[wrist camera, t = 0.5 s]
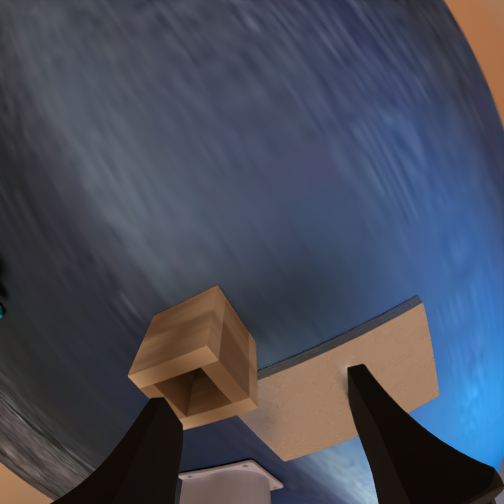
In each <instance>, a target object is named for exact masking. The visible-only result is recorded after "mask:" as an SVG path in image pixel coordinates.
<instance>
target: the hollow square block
mask: <svg viewBox="0 0 504 504" xmlns="http://www.w3.org/2000/svg"><path fill="white" fill-rule="evenodd" d="M128 377H129V378H130V379H131V380H132V381H133V382H134V383H135V384H136V385H137V387H138V388H139V389H140V390H141V391H142V392H143V393H144V394H145V395H146V396H147V397H148V398H149V399H151V398H155V397H165V399H166V400H167V402H168V403H169V405H170V406H171V408H172V409H173V411H174V412H175V414H176V415H177V417H178V418H179V420H180V421H181V423H182V424H183V430H185V429H189V428H193V427H197V426H201V425H205V424H208V423H212V422H215V421H219V420H222V419H226V418H229V417H232V416H236V415H239V414H242V413H245V412H248V411H251V410H254V409H257V408H258V385H257V359H256V341H255V340H254V339H253V337H252V336H251V334H250V333H249V331H248V330H247V328H246V327H245V325H244V324H243V322H242V321H241V319H240V318H239V316H238V315H237V313H236V312H235V310H234V309H233V307H232V306H231V304H230V303H229V301H228V300H227V298H226V297H225V295H224V294H223V292H222V291H221V289H220V288H219V286H218V285H216V286H214V287H212V288H210V289H208V290H206V291H204V292H202V293H200V294H198V295H196V296H194V297H191V298H189V299H187V300H185V301H183V302H181V303H179V304H177V305H175V306H173V307H171V308H169V309H167V310H164V311H162V312H160V313H158V314H156V315H154V317H153V319H152V321H151V323H150V326H149V328H148V330H147V332H146V335H145V337H144V339H143V341H142V344H141V346H140V348H139V350H138V353H137V355H136V357H135V360H134V362H133V364H132V367H131V369H130V372H129V374H128Z"/></svg>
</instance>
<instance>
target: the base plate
mask: <svg viewBox="0 0 504 504" xmlns="http://www.w3.org/2000/svg"><path fill="white" fill-rule="evenodd" d="M362 363H363V364H365V365H366V367H367V368H368V370H369V371H370V372H371V374H372V375H373V376H374V378H375V379H376V380H377V381H378V382H379V384H380V385H381V386H382V387H383V388H384V390H385V391H386V392H387V393H388V394H389V395H390V396H391V397H392V398H393V399H394V400H395V402H396V403H397V404H398V405H399V406H400V407H401V408H402V409H403V410H404V411H405V412H407V413H408V412H410V411H412V410H414V409H416V408H418V407H420V406H422V405H424V404H425V403H427V402H429V401H431V400H433V399H434V398H436V397H438V396H439V390H438V382H437V375H436V368H435V361H434V355H433V349H432V344H431V338H430V333H429V328H428V323H427V318H426V314H425V309H424V305H423V302H422V301H421V300H420V298H419V297H418V296H415V297H413V298H411V299H410V300H408V301H406V302H404V303H402V304H401V305H399V306H397V307H395V308H393V309H391V310H389V311H388V312H386V313H384V314H382V315H380V316H378V317H376V318H374V319H372V320H370V321H368V322H366V323H364V324H362V325H360V326H358V327H356V328H354V329H352V330H350V331H348V332H346V333H344V334H342V335H340V336H338V337H336V338H334V339H331V340H329V341H327V342H325V343H323V344H321V345H318V346H316V347H314V348H312V349H309V350H307V351H305V352H303V353H300V354H298V355H296V356H293V357H291V358H289V359H286V360H284V361H281V362H279V363H277V364H274V365H272V366H269V367H267V368H264V369H262V370H259V371H257V385H258V408H257V409H254V410H251V411H248V412H245V413H242V414H239V415H237V416H238V417H239V418H240V419H241V420H242V421H243V422H244V423H245V424H246V425H247V426H248V427H249V428H250V429H251V430H252V431H253V432H254V433H255V434H256V435H257V436H258V437H259V438H260V439H261V440H262V441H263V442H264V443H265V444H266V445H267V446H268V447H269V448H270V449H271V450H272V451H274V452H275V453H276V454H277V455H278V456H279V457H280V458H281V459H282V460H283V461H284V462H285V461H288V460H291V459H295V458H298V457H301V456H304V455H307V454H310V453H313V452H316V451H319V450H322V449H325V448H328V447H331V446H333V445H336V444H339V443H341V442H344V441H346V440H349V439H351V438H354V437H356V436H359V435H358V432H357V429H356V426H355V424H354V420H353V416H352V412H351V408H350V404H349V400H348V377H347V367H351V366H355V365H359V364H362Z"/></svg>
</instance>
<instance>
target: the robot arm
mask: <svg viewBox="0 0 504 504" xmlns="http://www.w3.org/2000/svg"><path fill="white" fill-rule="evenodd" d="M347 377H348V400H349V404H350V408H351V412H352V416H353V420H354V424H355V426H356V429H357V432H358V435H359V437H360V440H361V443H362V446H363V448H364V451H365V454H366V457H367V459H368V462H369V465H370V468H371V471H372V475H373V479H374V484H375V488H376V493H377V498H378V503H379V504H492V502H491V501H492V500H493V499H494V498H495V497H496V496H498V494H500V493H501V492H502V491H503V489H504V484H503V481H502V479H501V477H500V476H499V474H498V473H497V471H496V470H495V468H494V467H491V466H489V465H486V464H484V463H482V462H479V461H477V460H475V459H473V458H471V457H469V456H467V455H465V454H463V453H461V452H459V451H458V450H456V449H454V448H453V447H451V446H449V445H448V444H446V443H445V442H443V441H441V440H440V439H438V438H437V437H436V436H434V435H433V434H432V433H430V432H429V431H428V430H426V429H425V428H424V427H422V426H421V425H420V424H419V423H418V422H416V421H415V420H414V419H413V418H412V417H411V416H410V415H409V414H408V413H407V412H405V411H404V410H403V409H402V408H401V407H400V406H399V405H398V404H397V403H396V402H395V400H394V399H393V398H392V397H391V396H390V395H389V394H388V393H387V392H386V391H385V390H384V388H383V387H382V386H381V385H380V384H379V382H378V381H377V380H376V379H375V378H374V376H373V375H372V374H371V372H370V371H369V370H368V368H367V367H366V365H365V364H363V363H362V364H359V365H355V366H351V367H347ZM182 447H183V424H182V423H181V421H180V420H179V418H178V417H177V415H176V414H175V412H174V411H173V409H172V408H171V406H170V405H169V403H168V402H167V400H166V399H165V397H155V398H151V399H150V400H149V402H148V403H147V404H146V406H145V407H144V409H143V410H142V412H141V413H140V415H139V416H138V418H137V419H136V420H135V422H134V423H133V425H132V426H131V428H130V429H129V430H128V432H127V433H126V435H125V436H124V437H123V439H122V440H121V441H120V443H119V444H118V445H117V446H116V448H115V449H114V450H113V452H112V453H111V454H110V455H109V456H108V458H107V459H106V460H105V461H104V462H103V463H102V464H101V465H100V466H99V467H98V468H97V469H96V470H95V471H94V472H93V473H92V474H91V475H90V476H89V477H87V478H86V479H85V480H84V481H83V482H82V483H81V484H79V485H78V486H77V487H75V488H74V489H73V490H71V491H70V492H69V493H67V494H66V495H64V496H63V497H61V498H59V499H58V500H56V501H54V502H52V503H50V504H175V490H176V483H177V477H178V471H179V465H180V459H181V453H182ZM179 478H180V479H182V480H183V482H182V489H181V496H180V504H271V496H270V491H271V490H275V489H280V488H282V487H283V484H282V483H281V482H280V481H279V480H277V479H276V478H275V477H273V476H272V475H271V474H270V473H268V472H267V471H266V470H265V469H263V468H262V467H261V466H260V465H258V464H257V463H256V462H255V461H253V460H246V461H242V462H238V463H234V464H229V465H224V466H220V467H215V468H209V469H204V470H198V471H192V472H186V473H180V474H179Z"/></svg>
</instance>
